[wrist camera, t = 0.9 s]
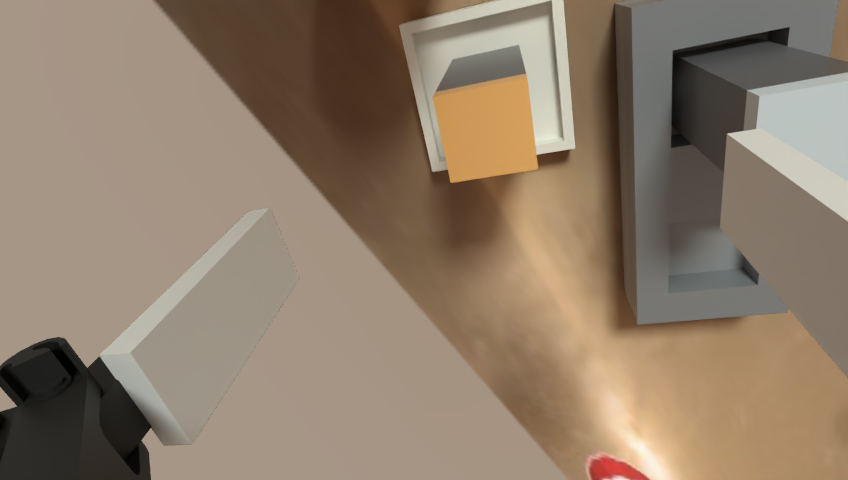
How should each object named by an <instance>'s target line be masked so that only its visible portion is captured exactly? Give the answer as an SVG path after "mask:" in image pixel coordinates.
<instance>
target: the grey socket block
mask: <svg viewBox="0 0 848 480" xmlns="http://www.w3.org/2000/svg"><path fill="white" fill-rule="evenodd" d="M838 1H839V0H626V1H622V2H618V3H615V30H616V59H617V89H618V118H619V147H620V176H621V205H622V235H623V264H624V291H625V293H626V296H627V299H628V301H629V304H630V306H631V309H632V311H633V314H634V317H635V319H636V322H637V324H638V325H641V324H653V323H665V322H677V321H690V320H702V319H714V318H727V317H739V316H751V315H764V314H776V313H787V312H788V307H787V306H786V305H785V304H784V302H783V301H782V300H781V299H780V298H779V297H778V295H777V294H776V293H775V292H774V291H773V290H772V288H771V287H770V286H769V285H768V284H767V283H766V281H765V280H764V279H763V278H762V277H761V275H760V274H759V273H758V272H757V271H756V270H755V268H754V267H753V266H752V265H751V264H750V263H749V261H748V260H747V259H746V258H745V257H744V255H743V254H742V253H741V252H740V251H739V250H738V248H737V247H736V246H735V245H734V244H733V243H732V241H731V240H730V239H729V238H728V237H727V236H726V234H725V233H724V232H723V231H722V230H721V228H720V219H721V206H722V193H723V179H724V173H723V172H722V171H721V170H720V169H719V168H718V167H717V166H716V165H715V164H713V163H712V162H711V161H710V160H709V159H708V158H707V157H706V156H705V155H703V154H702V153H701V152H700V151H699V150H698V149H697V148H696V147H695V146H694V145H692V144H691V143H690V142H689V141H688V140H687V139H686V138H685V137H684V136H682V135H681V134H680V133H679V132H678V131H677V130H676V129H675V128H674V127H673V126H671V122H672V67H673V54H677V53H682V52H687V51H692V50H697V49H702V48H707V47H712V46H717V45H722V44H726V43H731V42H736V41H741V40H746V39H751V38H758V39H762V40H766V41H769V42H773V43H777V44H781V45H785V46H788V47H792V48H796V49H800V50H804V51H807V52H811V53H815V54H819V55H823V56H826V57H829V56H830V50H831V44H832V38H833V32H834V26H835V19H836V13H837V7H838Z"/></svg>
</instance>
